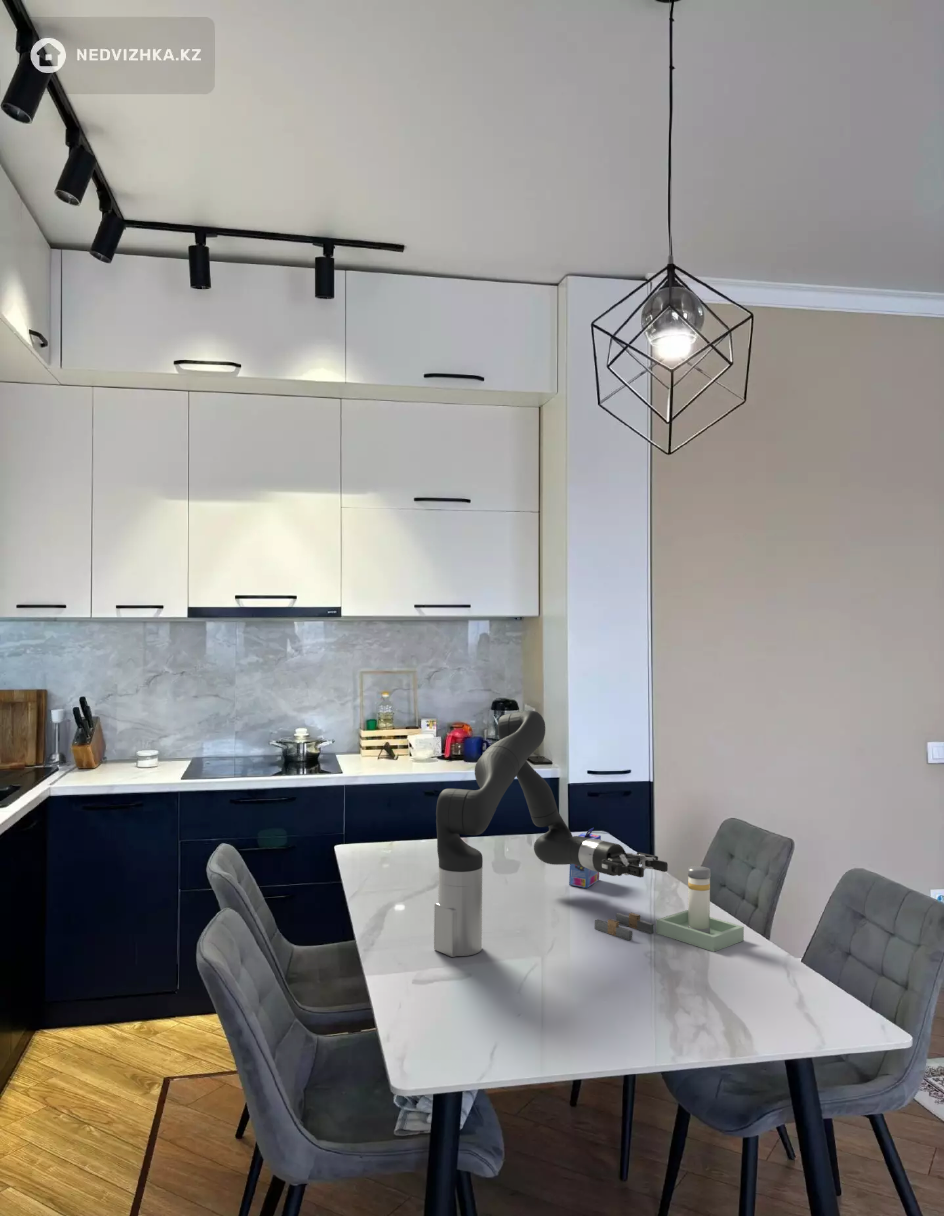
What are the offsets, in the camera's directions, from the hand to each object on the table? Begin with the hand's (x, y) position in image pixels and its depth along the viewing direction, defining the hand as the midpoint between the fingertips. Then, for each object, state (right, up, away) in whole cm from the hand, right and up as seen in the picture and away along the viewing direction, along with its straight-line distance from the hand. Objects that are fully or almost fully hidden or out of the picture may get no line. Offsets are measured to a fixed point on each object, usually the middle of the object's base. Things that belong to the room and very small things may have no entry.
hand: (655, 870), depth 209 cm
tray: (+8, -12, -9) cm, 17 cm away
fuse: (+8, -11, -9) cm, 16 cm away
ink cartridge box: (-12, -13, +33) cm, 38 cm away
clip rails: (-8, -12, -5) cm, 15 cm away
